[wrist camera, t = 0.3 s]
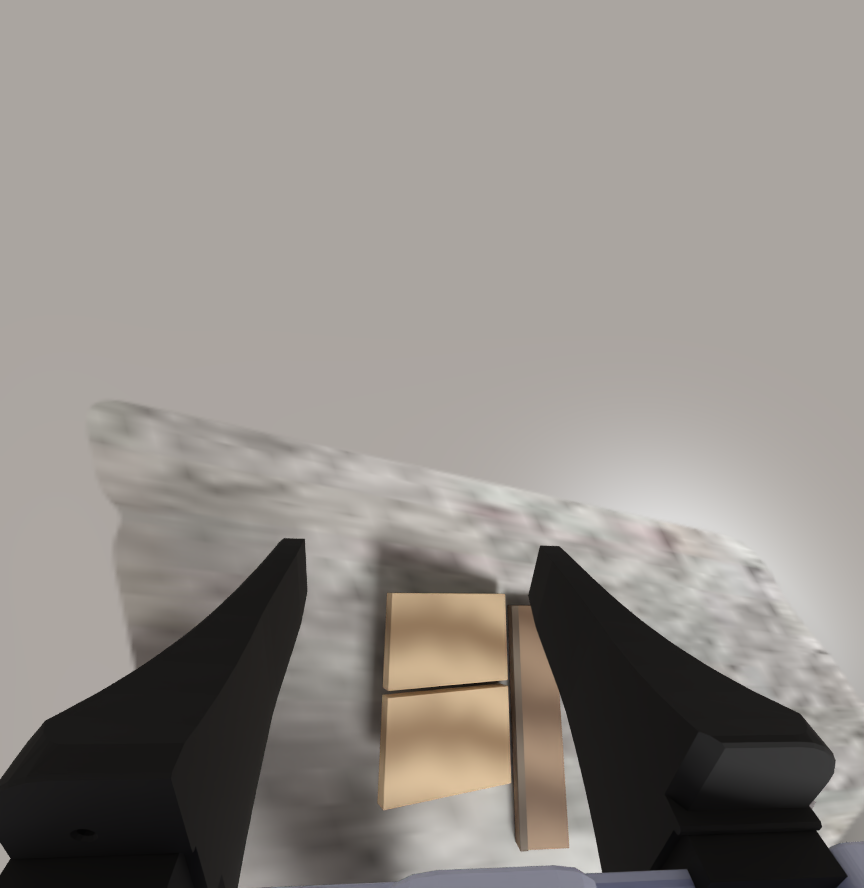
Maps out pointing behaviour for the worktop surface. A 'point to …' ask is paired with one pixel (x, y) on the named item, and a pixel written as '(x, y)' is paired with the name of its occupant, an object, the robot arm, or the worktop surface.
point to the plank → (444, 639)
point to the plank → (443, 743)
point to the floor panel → (535, 739)
